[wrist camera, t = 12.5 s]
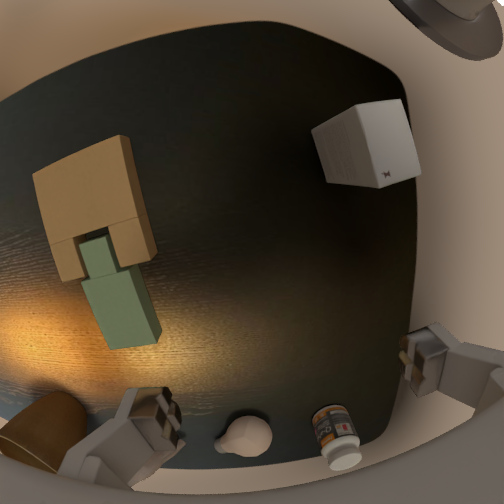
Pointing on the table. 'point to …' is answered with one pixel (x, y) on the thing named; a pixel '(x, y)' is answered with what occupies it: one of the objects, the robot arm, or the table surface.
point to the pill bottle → (337, 437)
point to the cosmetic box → (368, 146)
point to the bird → (154, 464)
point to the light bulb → (245, 437)
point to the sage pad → (118, 297)
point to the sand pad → (94, 205)
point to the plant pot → (45, 431)
